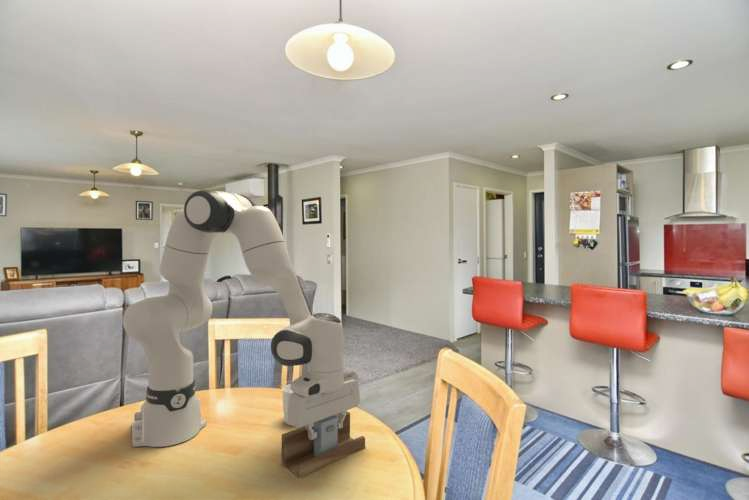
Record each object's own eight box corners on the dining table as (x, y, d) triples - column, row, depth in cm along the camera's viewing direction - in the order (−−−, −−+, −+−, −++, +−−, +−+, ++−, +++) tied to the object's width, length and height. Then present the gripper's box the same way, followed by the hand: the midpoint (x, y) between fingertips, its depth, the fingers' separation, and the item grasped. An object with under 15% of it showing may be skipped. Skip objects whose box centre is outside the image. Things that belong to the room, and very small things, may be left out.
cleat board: (281, 463, 94) (281, 434, 94) (345, 435, 108) (345, 410, 108) (300, 477, 88) (300, 447, 88) (365, 446, 102) (365, 420, 102)
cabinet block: (313, 454, 97) (313, 419, 97) (329, 447, 101) (329, 413, 101) (323, 461, 95) (323, 424, 94) (339, 453, 98) (339, 418, 98)
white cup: (303, 427, 113) (303, 393, 113) (277, 425, 114) (277, 391, 114) (312, 416, 120) (312, 384, 120) (288, 413, 122) (289, 382, 122)
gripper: (349, 367, 107) (349, 416, 107) (284, 385, 93) (284, 442, 93) (365, 372, 103) (364, 424, 103) (298, 392, 89) (298, 452, 89)
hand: (325, 433), depth 98 cm, fingers open, 7 cm apart
